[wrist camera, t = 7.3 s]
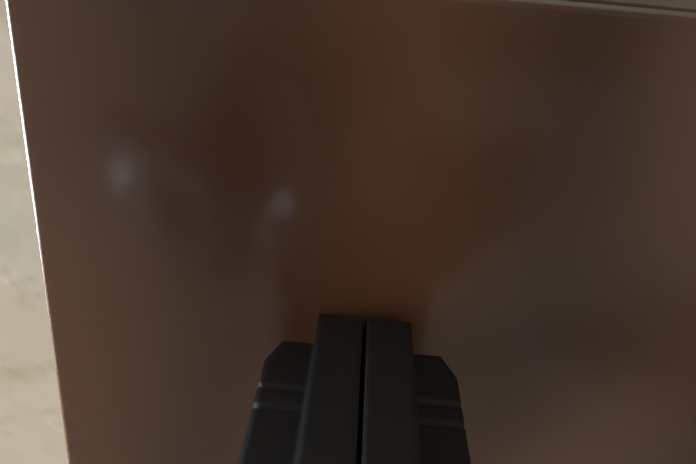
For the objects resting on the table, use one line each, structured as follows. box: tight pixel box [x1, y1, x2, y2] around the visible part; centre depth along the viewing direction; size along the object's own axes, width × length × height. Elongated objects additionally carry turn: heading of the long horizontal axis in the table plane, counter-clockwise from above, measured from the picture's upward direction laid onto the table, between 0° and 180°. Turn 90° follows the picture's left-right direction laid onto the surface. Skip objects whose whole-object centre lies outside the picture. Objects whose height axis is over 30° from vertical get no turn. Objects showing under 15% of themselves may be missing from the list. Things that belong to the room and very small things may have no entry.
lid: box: [5, 0, 696, 464], centre depth 11 cm, size 14×12×1 cm
